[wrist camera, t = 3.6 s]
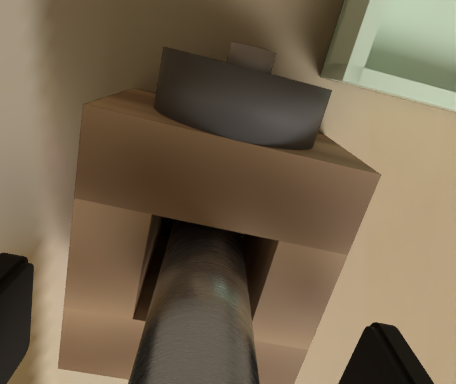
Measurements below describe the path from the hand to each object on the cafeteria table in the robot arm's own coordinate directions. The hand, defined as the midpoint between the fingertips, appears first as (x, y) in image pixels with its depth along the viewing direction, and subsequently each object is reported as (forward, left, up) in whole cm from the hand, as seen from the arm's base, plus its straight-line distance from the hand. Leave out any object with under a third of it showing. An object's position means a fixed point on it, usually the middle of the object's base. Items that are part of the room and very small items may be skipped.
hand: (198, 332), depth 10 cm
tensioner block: (-1, 0, -8) cm, 9 cm away
